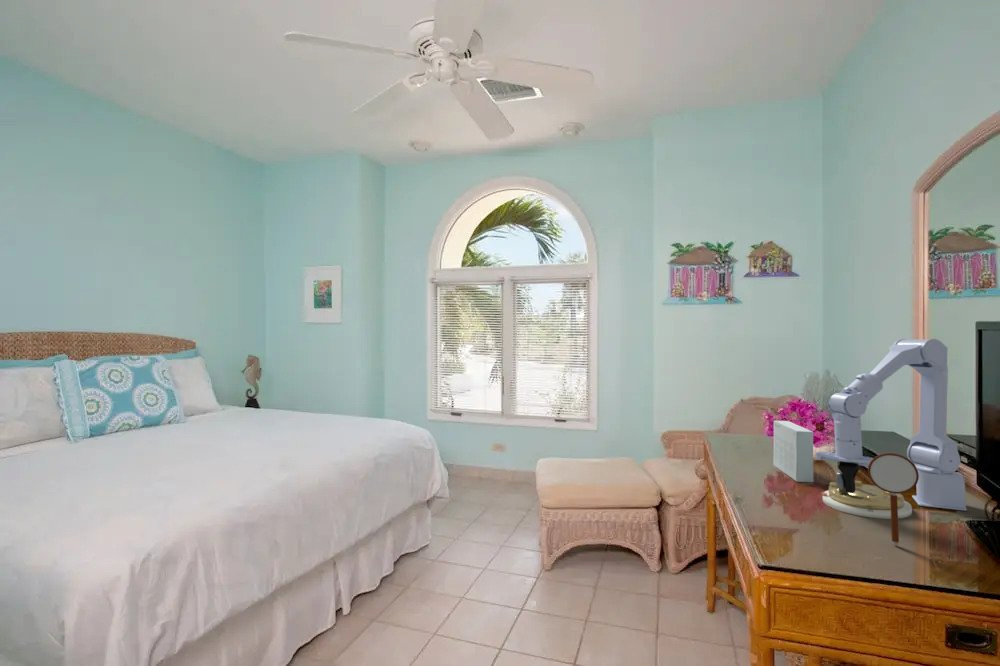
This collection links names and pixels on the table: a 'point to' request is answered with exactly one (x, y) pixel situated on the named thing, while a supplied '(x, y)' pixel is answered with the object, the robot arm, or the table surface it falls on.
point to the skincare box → (793, 450)
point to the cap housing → (882, 514)
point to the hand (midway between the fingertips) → (850, 491)
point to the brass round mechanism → (862, 495)
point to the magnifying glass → (893, 481)
